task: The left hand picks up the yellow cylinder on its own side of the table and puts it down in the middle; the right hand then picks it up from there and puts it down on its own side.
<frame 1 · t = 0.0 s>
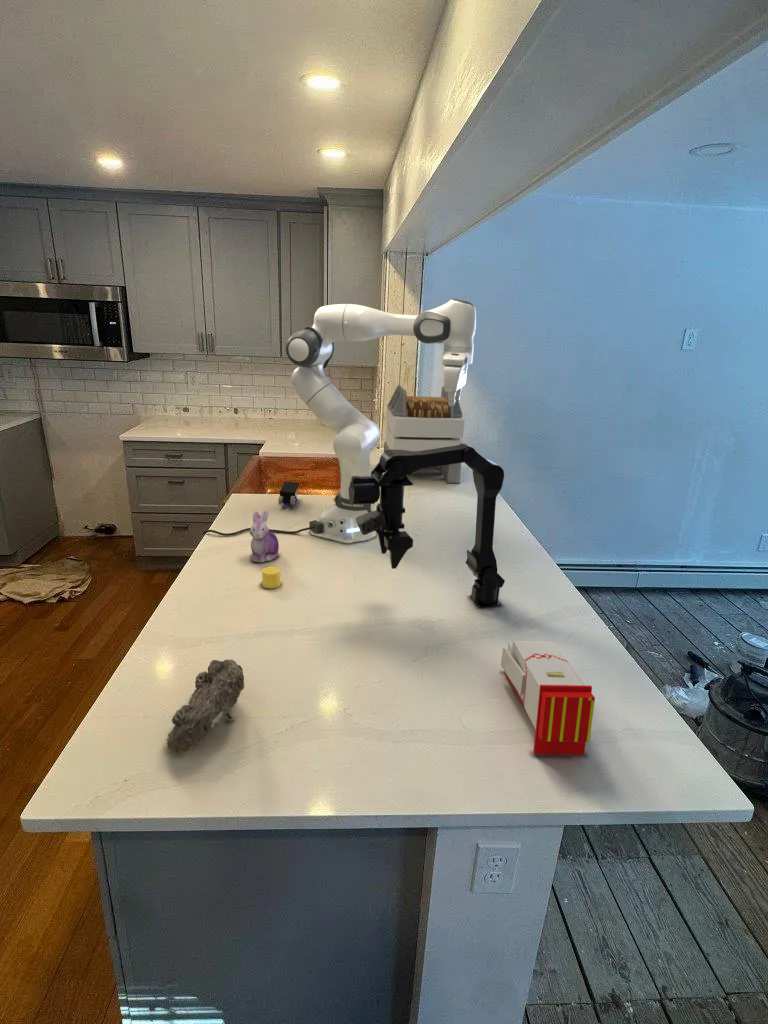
left hand: (454, 403, 174), 48 cm above the counter, tool pointing down, fingers open, 8 cm apart
right hand: (388, 560, 143), 15 cm above the counter, tool pointing down, fingers open, 9 cm apart
toy: (537, 705, 115), on the counter
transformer: (419, 473, 275), on the counter
figurine character: (289, 504, 224), on the counter
fossil: (212, 717, 108), on the counter
yellow cylinder: (271, 584, 160), on the counter
figurine: (264, 557, 177), on the counter
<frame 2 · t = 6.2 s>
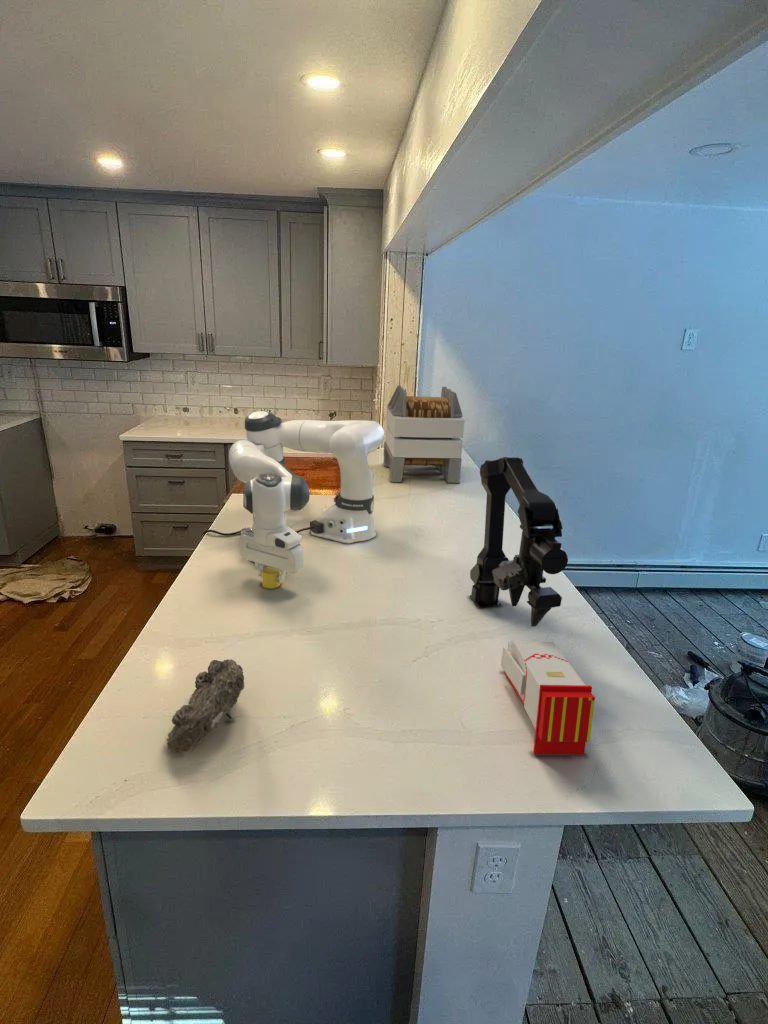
left hand: (271, 578, 159), 2 cm above the counter, tool pointing down, fingers closed on yellow cylinder, 5 cm apart
right hand: (523, 615, 131), 9 cm above the counter, tool pointing down, fingers open, 9 cm apart
yellow cylinder: (271, 584, 160), on the counter, touching left hand
everything else where it was.
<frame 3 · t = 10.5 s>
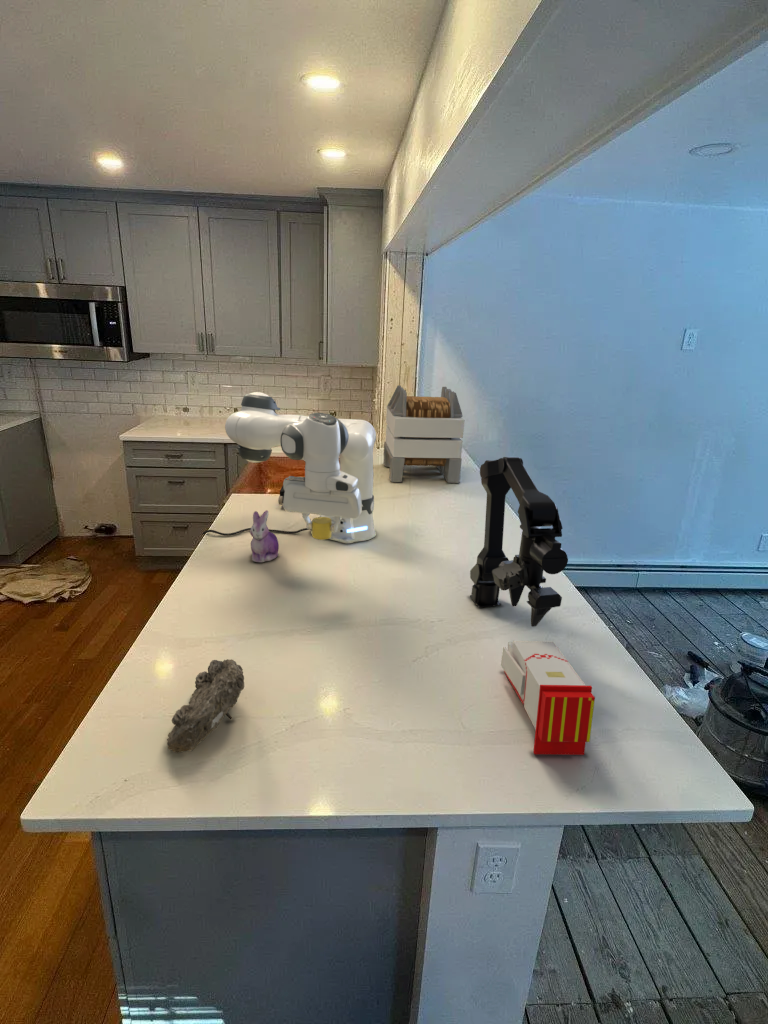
left hand: (322, 529, 148), 20 cm above the counter, tool pointing down, fingers closed on yellow cylinder, 5 cm apart
right hand: (523, 615, 131), 9 cm above the counter, tool pointing down, fingers open, 9 cm apart
yellow cylinder: (321, 535, 148), point 18 cm above the counter, touching left hand
everything else where it was.
when the left hand's fingers open (3 cm above the counter, at t = 14.9 s): yellow cylinder drops 1 cm, on the counter.
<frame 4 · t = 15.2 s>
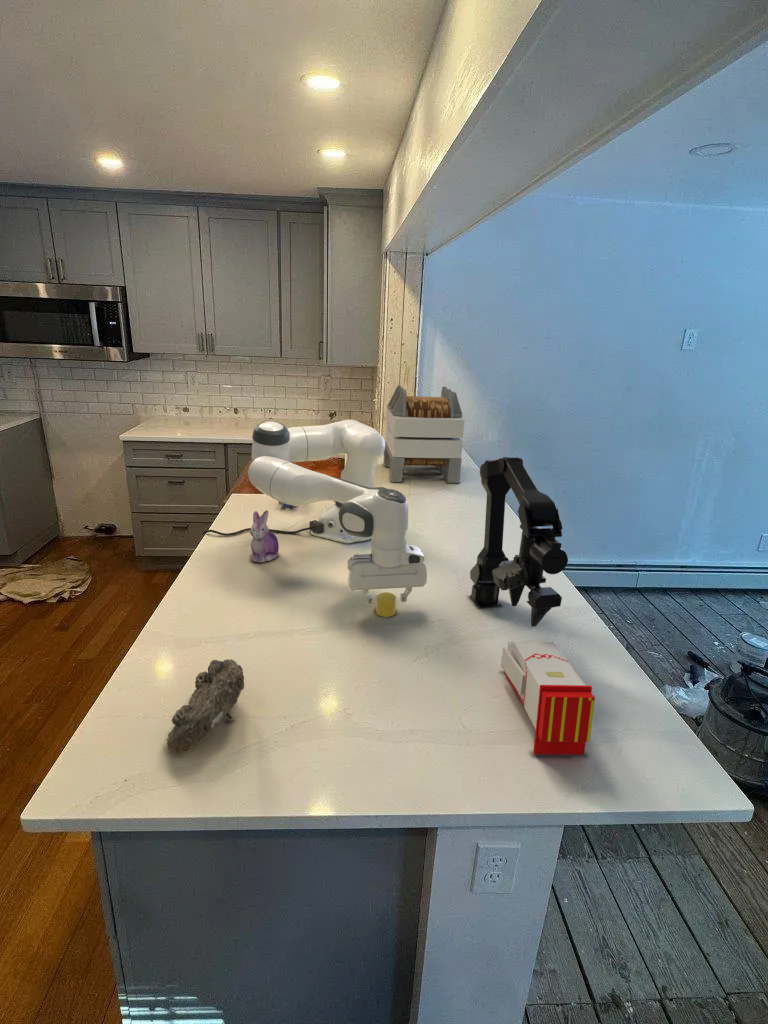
left hand: (386, 601, 147), 3 cm above the counter, tool pointing down, fingers open, 8 cm apart
right hand: (523, 615, 131), 9 cm above the counter, tool pointing down, fingers open, 9 cm apart
yellow cylinder: (385, 611, 148), on the counter
everything else where it was.
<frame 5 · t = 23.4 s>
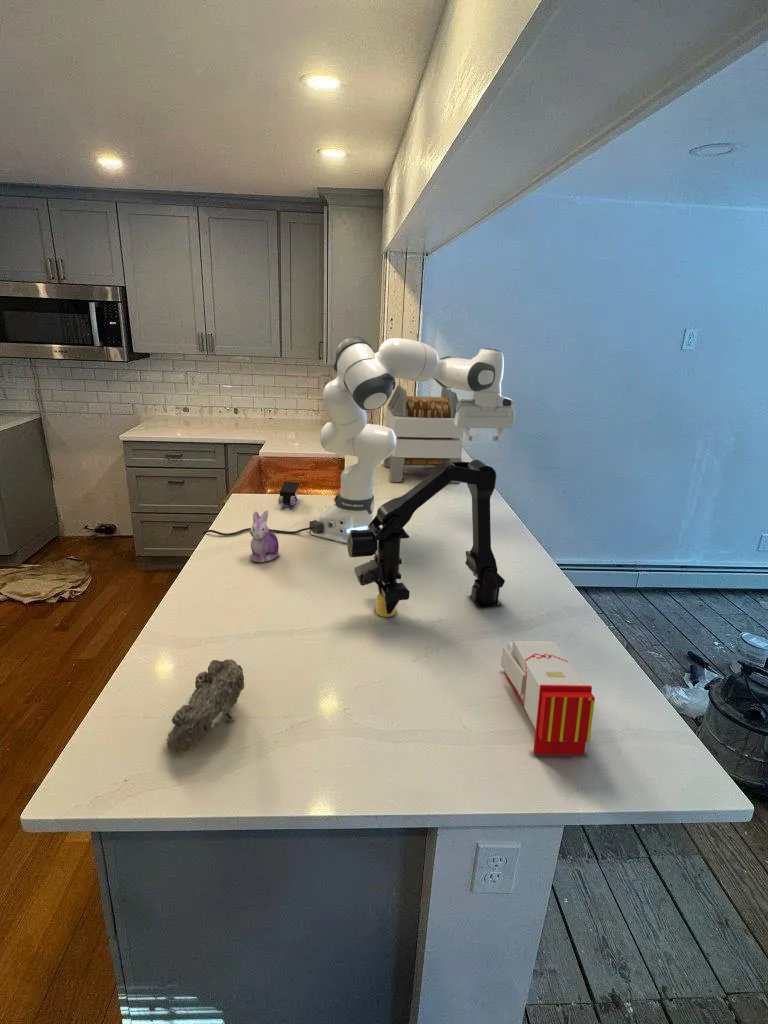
left hand: (482, 440, 191), 34 cm above the counter, tool pointing down, fingers open, 8 cm apart
right hand: (386, 608, 148), 1 cm above the counter, tool pointing down, fingers closed on yellow cylinder, 5 cm apart
yellow cylinder: (385, 611, 148), on the counter, touching right hand
everything else where it was.
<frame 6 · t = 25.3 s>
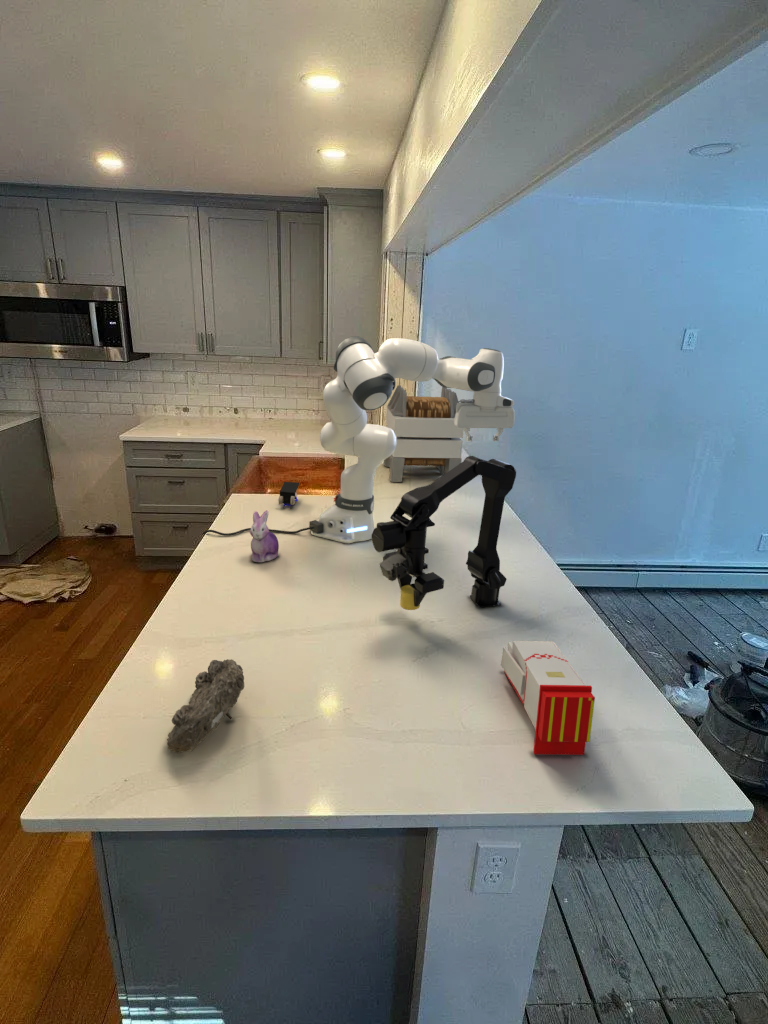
left hand: (482, 440, 191), 34 cm above the counter, tool pointing down, fingers open, 8 cm apart
right hand: (410, 601, 142), 6 cm above the counter, tool pointing down, fingers closed on yellow cylinder, 5 cm apart
yellow cylinder: (409, 605, 142), point 5 cm above the counter, touching right hand
everything else where it was.
when the right hand's fingers open (2 cm above the counter, at t = 27.4 s): yellow cylinder drops 1 cm, on the counter.
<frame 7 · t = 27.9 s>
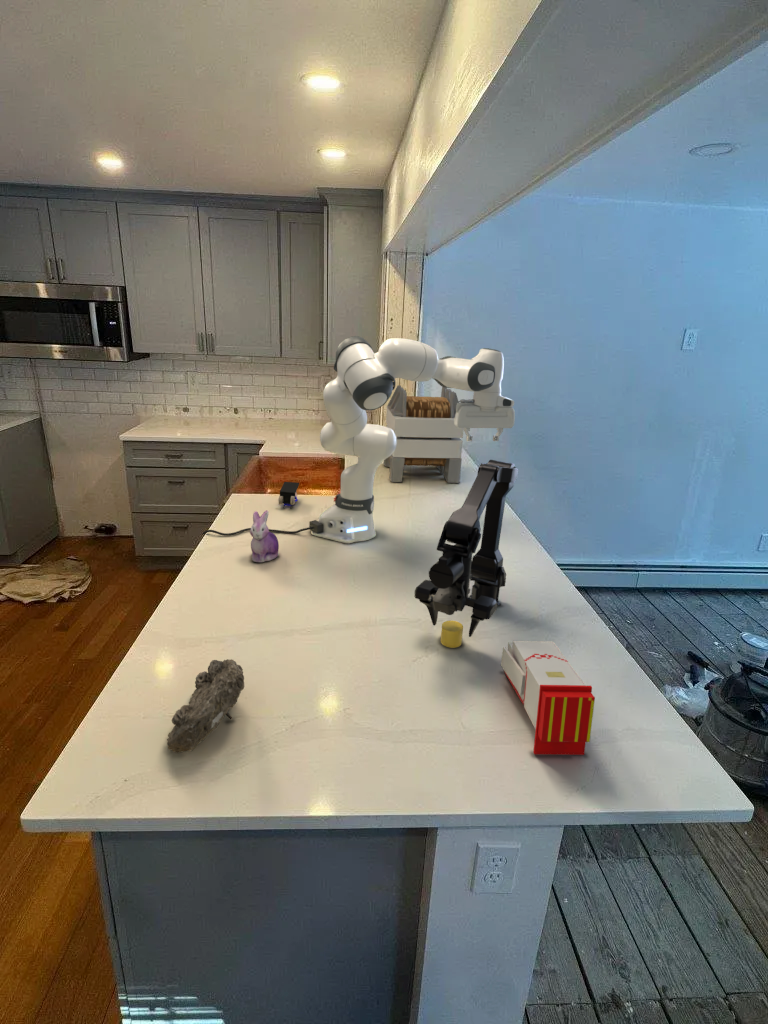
left hand: (482, 440, 191), 34 cm above the counter, tool pointing down, fingers open, 8 cm apart
right hand: (452, 630, 135), 3 cm above the counter, tool pointing down, fingers open, 9 cm apart
yellow cylinder: (451, 641, 136), on the counter
everything else where it was.
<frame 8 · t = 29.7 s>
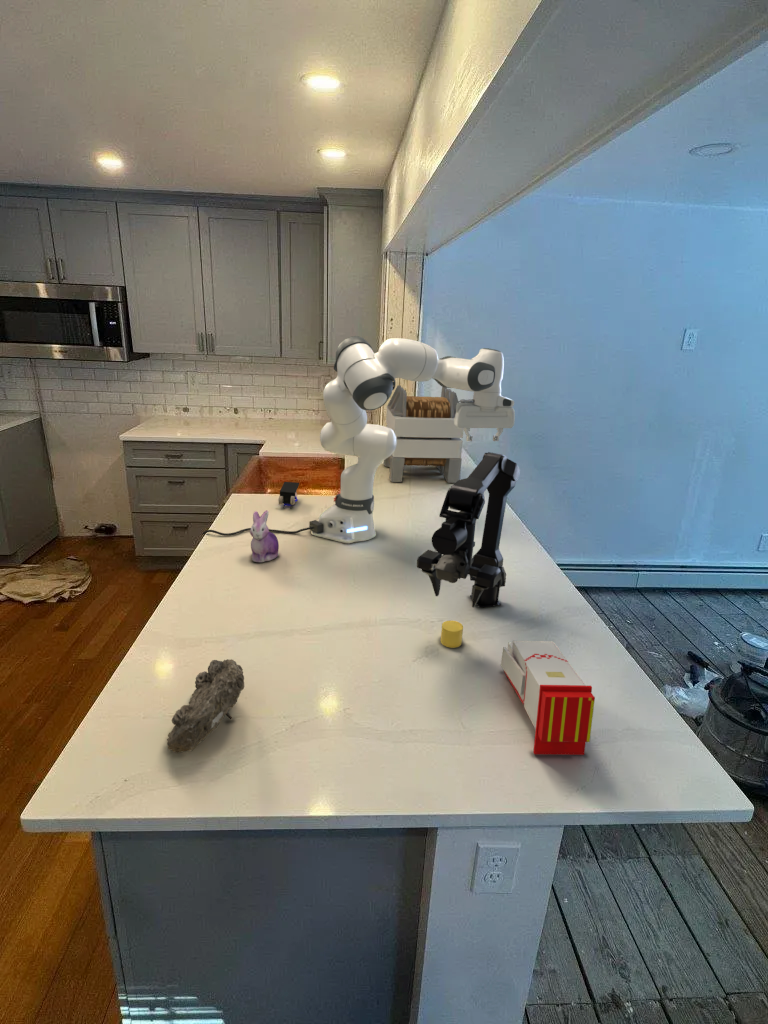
left hand: (482, 440, 191), 34 cm above the counter, tool pointing down, fingers open, 8 cm apart
right hand: (455, 601, 132), 11 cm above the counter, tool pointing down, fingers open, 9 cm apart
nothing on the counter moved.
at the end: yellow cylinder inside the target area (0.0 cm from its centre), on the counter; yellow cylinder tilted 0°; the two hands never held the yellow cylinder at the same time; the left hand is holding nothing; the right hand is holding nothing; yellow cylinder at rest at the end (0.0 cm/s) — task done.
